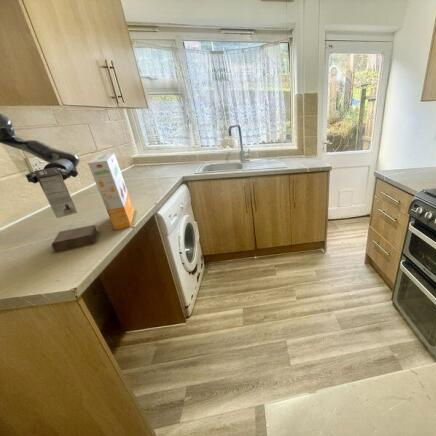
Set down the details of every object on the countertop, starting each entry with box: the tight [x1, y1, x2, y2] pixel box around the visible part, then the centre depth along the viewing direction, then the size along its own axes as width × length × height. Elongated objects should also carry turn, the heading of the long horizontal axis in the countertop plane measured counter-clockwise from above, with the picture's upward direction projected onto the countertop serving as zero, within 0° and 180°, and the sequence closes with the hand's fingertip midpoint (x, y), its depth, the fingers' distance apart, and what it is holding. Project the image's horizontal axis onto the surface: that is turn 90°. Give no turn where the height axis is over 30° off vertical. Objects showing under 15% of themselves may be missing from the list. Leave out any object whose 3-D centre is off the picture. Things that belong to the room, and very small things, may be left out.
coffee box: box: [33, 167, 78, 219], centre depth 90 cm, size 9×6×16 cm
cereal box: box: [87, 152, 135, 230], centre depth 112 cm, size 22×6×30 cm, turn 27°
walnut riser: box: [51, 224, 99, 254], centre depth 98 cm, size 12×12×4 cm
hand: (48, 178), depth 87 cm, fingers closed on coffee box, 7 cm apart
